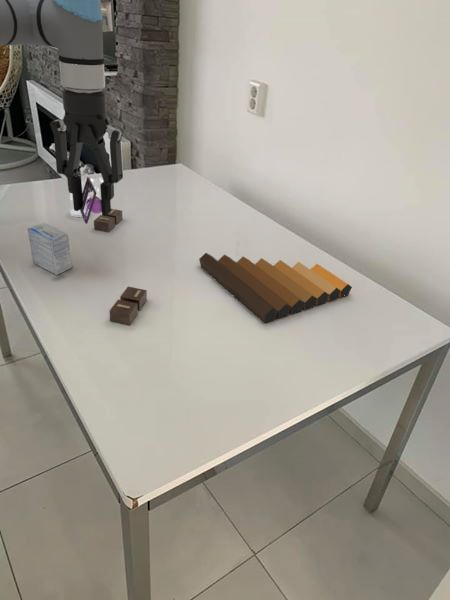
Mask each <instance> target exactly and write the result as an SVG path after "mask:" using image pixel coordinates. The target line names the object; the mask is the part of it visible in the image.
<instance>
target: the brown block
mask: <svg viewBox="0 0 450 600" xmlns="http://www.w3.org/2000/svg"><path fill="white" fill-rule="evenodd" d="M122 220H123V210H121V209H115V208H111V212H110V213H108V214H107V215H106V216H103V215H102V214H99V216H97V217H96V218H95V219H94V220H93V229H94V230H95V231H100V232H105V233H110V232H111V231H112V230H113V229H114V228H115V227H116V225H118V224H119V223H120V222H121V221H122Z"/></svg>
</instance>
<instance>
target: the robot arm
mask: <svg viewBox="0 0 450 600" xmlns="http://www.w3.org/2000/svg"><path fill="white" fill-rule="evenodd" d="M101 2H102V1H101V0H0V47H3V46H5V47H7V46H23V45H35V46H36V45H37V46H43V47H44V46H45V47H50V48H57V55H58V63H59V64H58V65H59V75H60V85H61V86H62V87H63V89H62V90H61V98H62V105H63V106H62V108H63V111H64V115H63V118H61V119H60V118H57V119H55V120H52V121H50V123H49V126H50V129H51V131H52V134H53V143H54V153H55V165H56V172H57V174H59V175H63V176H65V177H66V180H67V191H68V192H69V194H72V203H73V204H72V205H73V208H74V211H78V210H80V209H81V208H82V205H83V194H82V193H83V183H82V176H81V175H78V174H80V173H79V172H80V171H78V170H79V165H80V160H81V155H82V154H81V153H82V149H83V145H84V143H86V144H89V145H90V147H91V150H93V152H94V156H95V158H96V161H97V165H98V168H99V172H100V174H101V178H102V181H103V182H101V183H100V185H99V186H100V187H99V188H100V199H101V205H102V212H101V215H103V216H106V215H107V214H108V213H110V212H111V209H112V206H111V205H112V204H111V201H112V200H113V199H114V198H115V184H117V183H119V182H120V181H121V180H123V179H124V173H123V169H124V168H123V155H122V138H123V135H124V130H123V128H121V127H118V128H116V127H114V126H112V125H110V123H109V120H108V118H107V94H106V92H105V91H104V90H103V89H105V87H106V75H105V58H104V39H103V38H104V37H103V34H104V33H103V22H104V17H103V13H102V3H101ZM67 130H68V131H69V133H70V141H69V145H70V146H69V152H68V143H67V132H66V131H67ZM106 133H107V138H108V139H109V153H110V158H109V156H108V151H107V149H106V141H105V138H104V136H105V135H106Z"/></svg>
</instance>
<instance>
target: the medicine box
mask: <svg viewBox="0 0 450 600" xmlns="http://www.w3.org/2000/svg"><path fill="white" fill-rule="evenodd" d="M27 234H28V240H29V247H30V253H31V256H32V263H33V264H35V265H36V266H38V267H40V268H42V269H44V270H46V271H48V272H50V273H52V274H54V275H56V276H58V275H60V274H62V273H64V272H66V271H68V270H71V269H72V268H73V264H72V256H71V248H70V240H69V234H68V233H67V232H65V231H63V230H61V229H60V228H56V227H54V226H52V225H50V224H48V223H46V222H43V223H42V222H41V223H39V224H36V225H33V226H31V227H29V228H27Z"/></svg>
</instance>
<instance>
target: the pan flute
mask: <svg viewBox="0 0 450 600" xmlns="http://www.w3.org/2000/svg"><path fill="white" fill-rule="evenodd" d="M198 261H199V264H200V267H201V268H202V269H204V270H205V271H206V273H208V274H209V275H210V276H211V277H212V278H213V279H215V281H217V282H218V283H219V284H220V285H221V286H222V287H223V288H225V289H226V290H227V292H229V293H230V294H232V295H233V297H235V298H236V299H237V300H238V301H239V302H240V303H242V304H243V305H244V306H245V307H246V308H247V309H248V310H249V311H250V312H252V313H253V314H254V315H255V317H257V318H259V319H260V321H262V322H263V323H264V324H269V323H272V322H274V321H275V320H276V318H277V319H279V320H280V319H284V318H287V317H288V315H289V314H291V315H295V314H298V313H301V312H302V309H303V310H305V311H306V310H309V309H312V308H314V306H315V305H316V306H322V305H324V304H326V302H329V303H330V302H333V301H336V300H337V299H338V298H340V299H342V298H346V297H348V296H349V294H350V292H351V290H352V288H353V286H351V285H350V284H348V283H347V282H346V281H344V280H343V279H341V278H339V276H337V275H336V274H334V273H332V272H331V271H330V270H328V269H327V268H325V267H323V266H322V265H320V264H319V263H316V264H314V265H313V266H312V268H309V267H307V266H305V264H303V263H301V262H300V261H297V262H296V263H295V264H294V265H293V266H290V265H288V264H287V263H285V262H284V261H283V260H281V259H279V260H278V261H277V262H275V264H274V265H273V264H271V263H270V262H268V261H267V260H265V259H264V258H262V257H261V258H260V259H259V260H257V262H255V263H254V262H252V261H251V260H250V259H249V258H247V257H245V256H241V257H240V259H238V260H237V261H235V260H234V259H232V258H231V257H230V256H228V255H226V254H223V255H222V256H221V257H220V258H219V259H217V258H215V257H214V256H212V255H211V254H209V253H208V252H205V253H203V255H201V257H199V259H198ZM347 294H348V295H347ZM344 295H345V296H344Z"/></svg>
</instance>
